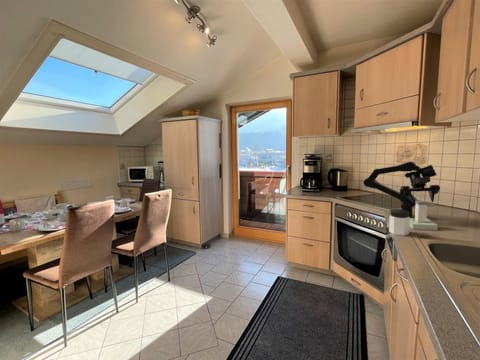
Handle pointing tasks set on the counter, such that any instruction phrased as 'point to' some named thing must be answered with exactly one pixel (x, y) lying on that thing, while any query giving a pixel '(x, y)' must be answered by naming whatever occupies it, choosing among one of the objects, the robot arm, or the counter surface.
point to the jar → (399, 222)
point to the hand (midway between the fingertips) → (423, 201)
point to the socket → (422, 225)
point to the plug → (421, 211)
